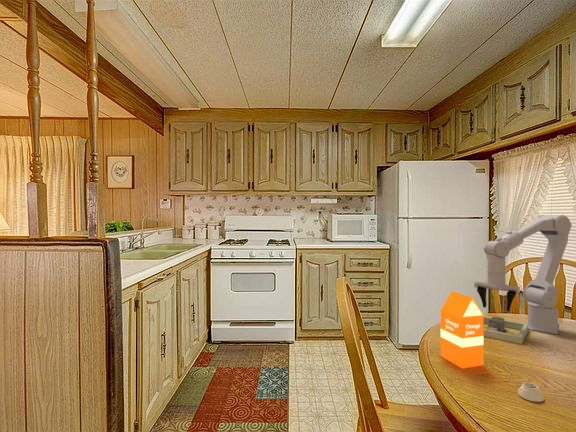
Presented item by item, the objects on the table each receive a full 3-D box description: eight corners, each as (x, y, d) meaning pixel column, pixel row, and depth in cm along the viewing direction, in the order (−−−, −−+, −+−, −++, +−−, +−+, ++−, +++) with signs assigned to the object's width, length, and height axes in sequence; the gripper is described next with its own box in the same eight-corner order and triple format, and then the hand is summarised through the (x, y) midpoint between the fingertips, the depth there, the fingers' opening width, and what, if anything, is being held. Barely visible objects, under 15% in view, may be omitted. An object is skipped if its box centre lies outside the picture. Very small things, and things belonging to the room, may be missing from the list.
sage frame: (528, 330, 126) (528, 324, 126) (521, 344, 113) (521, 337, 113) (475, 320, 138) (475, 314, 138) (463, 332, 125) (463, 325, 125)
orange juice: (462, 368, 95) (462, 298, 95) (440, 355, 104) (440, 291, 104) (484, 365, 97) (484, 296, 97) (460, 353, 106) (460, 290, 106)
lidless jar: (549, 403, 78) (532, 391, 83) (549, 390, 78) (532, 380, 83) (528, 403, 78) (513, 392, 83) (528, 391, 78) (513, 380, 83)
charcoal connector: (505, 328, 129) (505, 318, 129) (498, 337, 119) (498, 326, 119) (493, 326, 132) (493, 316, 131) (486, 335, 122) (486, 324, 122)
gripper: (472, 272, 128) (472, 307, 128) (518, 276, 118) (517, 315, 118) (476, 269, 133) (476, 303, 133) (520, 274, 123) (520, 310, 124)
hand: (496, 308), depth 126 cm, fingers open, 7 cm apart
